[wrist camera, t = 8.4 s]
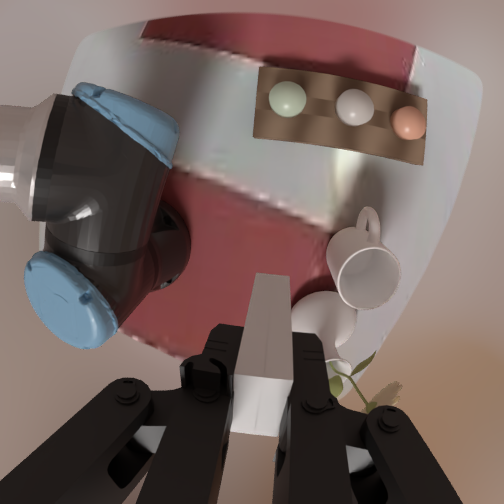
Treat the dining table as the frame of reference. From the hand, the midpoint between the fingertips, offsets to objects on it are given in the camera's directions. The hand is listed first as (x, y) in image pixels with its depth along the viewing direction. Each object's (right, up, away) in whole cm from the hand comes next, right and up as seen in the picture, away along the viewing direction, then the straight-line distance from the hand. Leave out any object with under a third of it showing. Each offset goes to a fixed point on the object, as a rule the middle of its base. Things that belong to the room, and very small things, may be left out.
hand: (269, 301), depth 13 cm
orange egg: (+20, +20, +19) cm, 34 cm away
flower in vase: (+11, -8, +32) cm, 35 cm away
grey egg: (+12, +20, +19) cm, 30 cm away
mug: (+14, +4, +28) cm, 31 cm away
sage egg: (+4, +22, +20) cm, 30 cm away
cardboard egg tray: (+12, +21, +22) cm, 33 cm away
